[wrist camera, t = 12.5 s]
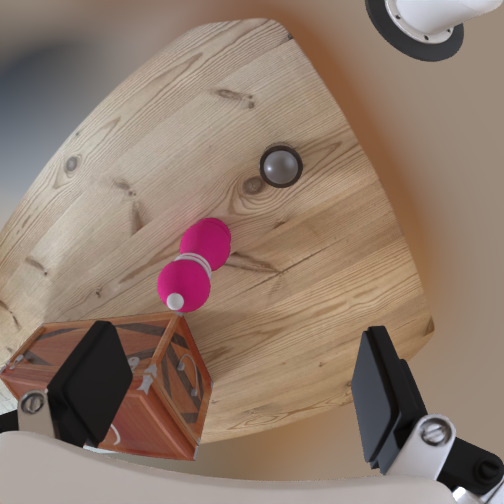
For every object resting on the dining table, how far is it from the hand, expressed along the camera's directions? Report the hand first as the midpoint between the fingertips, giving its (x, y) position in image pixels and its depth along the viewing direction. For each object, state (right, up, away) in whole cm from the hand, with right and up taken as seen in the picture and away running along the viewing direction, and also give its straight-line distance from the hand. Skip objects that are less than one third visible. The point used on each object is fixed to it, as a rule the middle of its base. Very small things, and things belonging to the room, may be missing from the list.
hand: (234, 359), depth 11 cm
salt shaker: (+5, +17, +32) cm, 36 cm away
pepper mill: (-6, +6, +38) cm, 38 cm away
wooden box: (-29, -19, +50) cm, 61 cm away
